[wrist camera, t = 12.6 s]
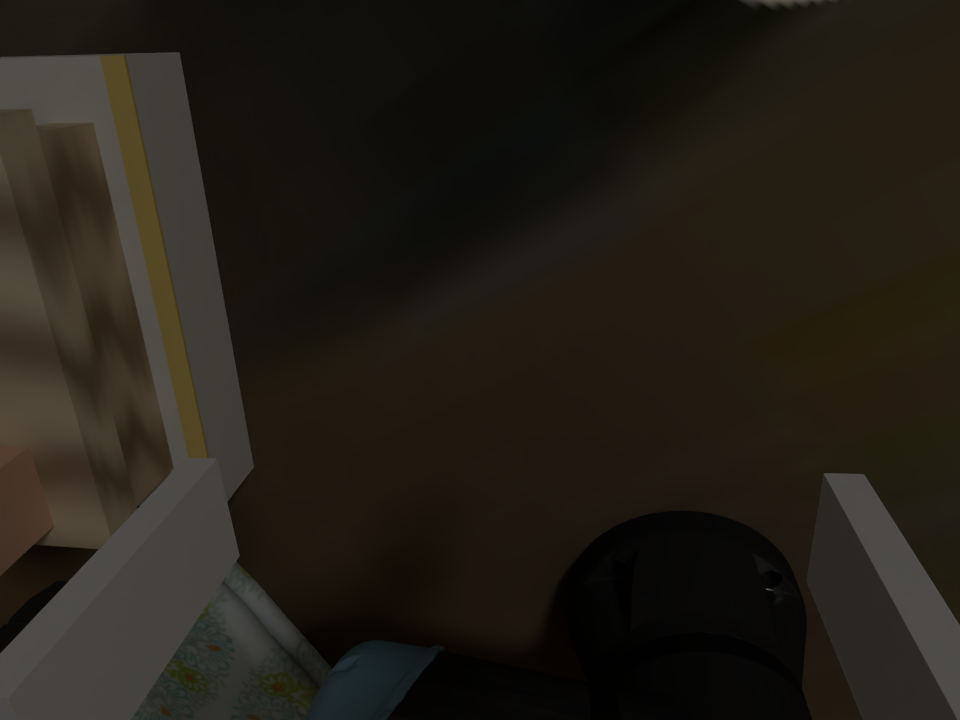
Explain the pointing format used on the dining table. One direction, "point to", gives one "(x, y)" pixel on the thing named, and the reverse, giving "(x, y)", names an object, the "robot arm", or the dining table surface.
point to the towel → (238, 662)
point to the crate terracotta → (20, 505)
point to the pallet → (72, 335)
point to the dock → (155, 234)
